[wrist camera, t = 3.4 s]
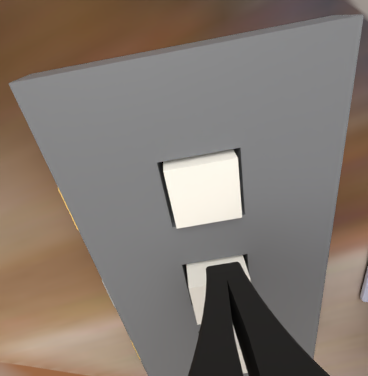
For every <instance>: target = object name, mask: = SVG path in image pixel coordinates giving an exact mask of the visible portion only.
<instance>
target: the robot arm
mask: <svg viewBox="0 0 368 376" xmlns="http://www.w3.org/2000/svg"><path fill="white" fill-rule="evenodd" d="M360 298H361V299H362V301H364V302H368V268H367V272H366V275H365V279H364V283H363V287H362V291H361V295H360ZM232 323H233V324H232ZM233 326H234V329H235V333H236V336H237V339H238V343H239V346H240V349H241V352H242V356H243V359H244V362H245V365H246V369H247V372H248V375H249V376H330V375H328V374H327V373H326V372H325V371H324V370H323V369H322V368H321V367H320V366H319V365H318V364H317V363H316V362H315V361H314V360H313V359H312V358H311V357H310V356H309V355H308V354H307V352H306V351H305V350H304V349H303V348H302V347H301V346H300V345H299V344H298V343H297V342H296V341H295V339H294V338H293V337H292V336H291V335H290V334H289V333H288V331H287V330H286V329H285V328H284V327H283V325H282V324H281V323H280V322H279V321H278V319H277V318H276V317H275V316H274V314H273V313H272V312H271V310H270V309H269V308H268V306H267V305H266V304H265V302H264V301H263V300H262V298H261V297H260V295H259V294H258V293H257V291H256V290H255V288H254V287H253V285H252V283H251V282H250V280H249V279H248V277H247V275H246V274H245V272H244V270H243V268H242V266H241V264H240V263H239V262H231V263H225V264H219V265H213V266H208V267H207V268H206V294H205V302H204V309H203V316H202V321H201V326H200V331H199V336H198V340H197V345H196V349H195V353H194V356H193V360H192V363H191V367H190V370H189V373H188V376H244V375H243V371H242V367H241V363H240V358H239V354H238V350H237V346H236V341H235V336H234V330H233Z"/></svg>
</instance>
